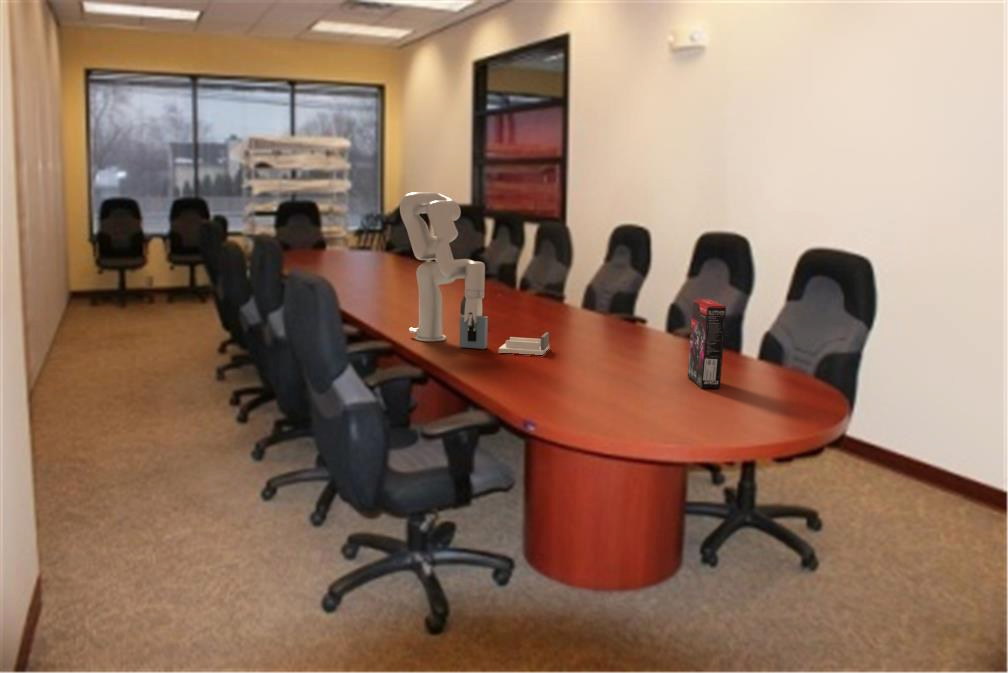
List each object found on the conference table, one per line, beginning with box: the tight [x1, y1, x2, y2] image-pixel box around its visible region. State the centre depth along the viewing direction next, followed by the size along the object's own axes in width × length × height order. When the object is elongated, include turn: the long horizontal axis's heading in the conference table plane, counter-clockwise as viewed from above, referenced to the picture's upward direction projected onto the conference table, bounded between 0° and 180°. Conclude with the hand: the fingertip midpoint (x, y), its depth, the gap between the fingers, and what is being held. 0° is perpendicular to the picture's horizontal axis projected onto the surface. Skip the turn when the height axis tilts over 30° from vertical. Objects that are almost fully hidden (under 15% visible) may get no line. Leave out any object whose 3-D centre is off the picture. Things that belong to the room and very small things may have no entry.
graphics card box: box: [687, 298, 727, 389], centre depth 293 cm, size 17×7×27 cm, turn 5°
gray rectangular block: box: [459, 315, 489, 350], centre depth 346 cm, size 10×4×12 cm, turn 77°
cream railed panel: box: [498, 332, 550, 356], centre depth 342 cm, size 17×14×7 cm
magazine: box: [459, 294, 484, 316], centre depth 405 cm, size 17×3×30 cm
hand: (473, 339), depth 347 cm, fingers closed on gray rectangular block, 4 cm apart
